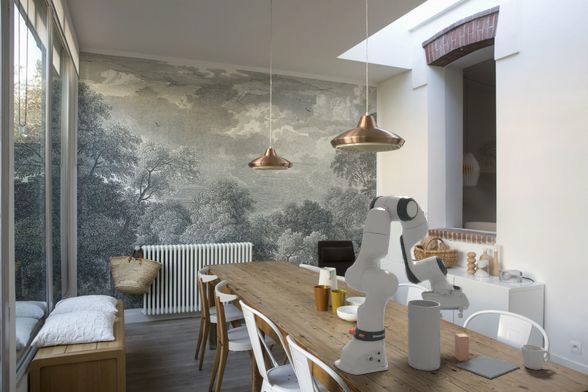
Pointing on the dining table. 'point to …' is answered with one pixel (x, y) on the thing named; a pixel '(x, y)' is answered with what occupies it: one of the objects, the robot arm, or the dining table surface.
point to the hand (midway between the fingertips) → (450, 317)
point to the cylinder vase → (424, 334)
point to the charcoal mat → (487, 366)
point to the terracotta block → (462, 347)
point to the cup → (534, 356)
